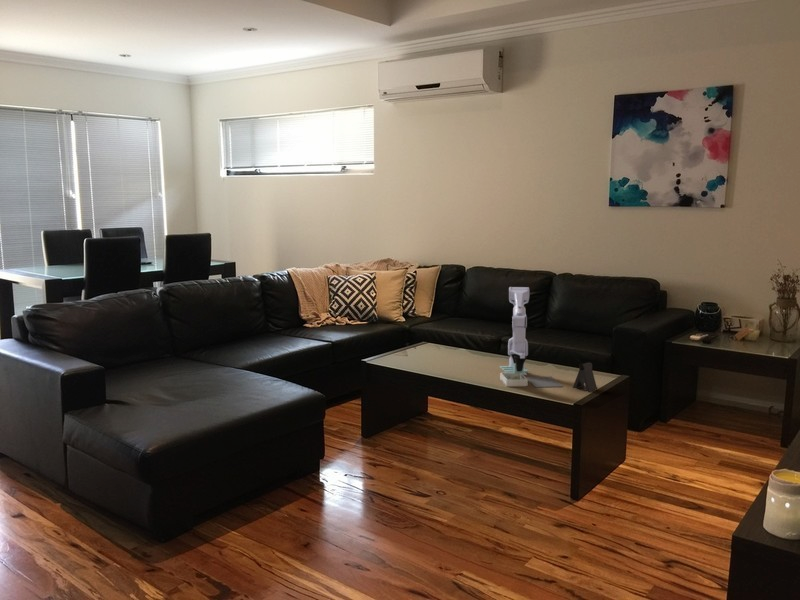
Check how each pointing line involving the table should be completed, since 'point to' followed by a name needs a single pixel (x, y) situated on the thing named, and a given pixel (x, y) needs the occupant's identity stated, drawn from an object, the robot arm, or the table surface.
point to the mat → (543, 382)
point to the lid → (513, 369)
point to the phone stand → (585, 378)
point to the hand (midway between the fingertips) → (518, 370)
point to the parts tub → (513, 379)
